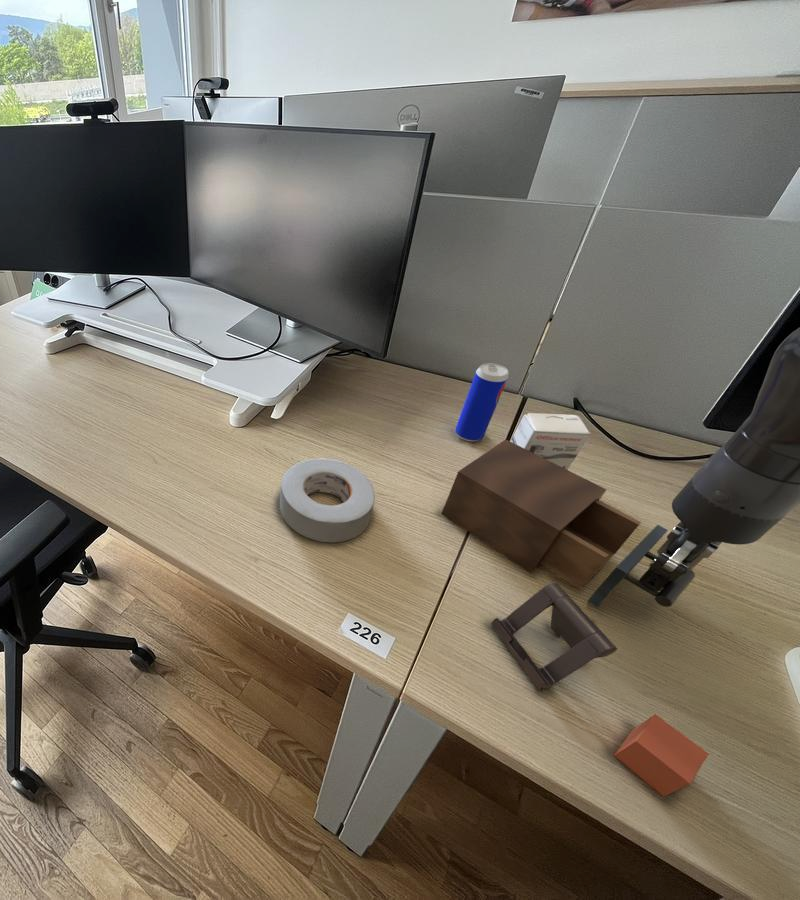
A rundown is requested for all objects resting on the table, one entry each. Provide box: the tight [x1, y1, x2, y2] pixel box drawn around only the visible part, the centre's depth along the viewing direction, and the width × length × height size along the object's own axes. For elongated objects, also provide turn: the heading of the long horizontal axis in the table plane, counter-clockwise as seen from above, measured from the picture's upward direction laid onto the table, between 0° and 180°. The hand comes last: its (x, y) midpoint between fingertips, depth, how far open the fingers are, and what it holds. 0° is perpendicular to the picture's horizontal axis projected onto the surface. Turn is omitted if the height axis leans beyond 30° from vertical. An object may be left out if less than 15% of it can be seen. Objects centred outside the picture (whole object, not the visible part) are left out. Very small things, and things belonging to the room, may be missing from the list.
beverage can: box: [455, 362, 509, 442], centre depth 88 cm, size 5×5×15 cm
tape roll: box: [279, 457, 376, 543], centre depth 79 cm, size 15×15×5 cm
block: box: [613, 713, 710, 797], centre depth 48 cm, size 4×4×4 cm
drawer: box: [540, 499, 696, 608], centre depth 65 cm, size 19×12×8 cm, turn 33°
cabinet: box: [441, 439, 607, 574], centre depth 72 cm, size 15×13×10 cm
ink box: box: [510, 412, 592, 471], centre depth 80 cm, size 9×5×12 cm, turn 80°
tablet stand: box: [490, 581, 618, 691], centre depth 57 cm, size 9×8×8 cm
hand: (650, 583), depth 61 cm, fingers closed
